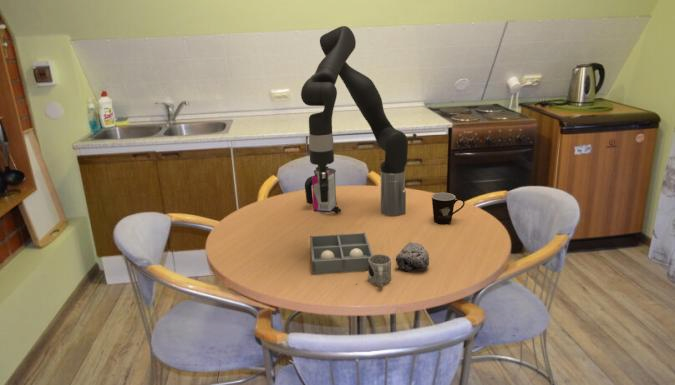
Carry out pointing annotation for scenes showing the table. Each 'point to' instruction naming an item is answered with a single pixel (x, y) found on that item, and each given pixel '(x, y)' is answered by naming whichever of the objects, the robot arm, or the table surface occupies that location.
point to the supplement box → (317, 202)
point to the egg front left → (356, 253)
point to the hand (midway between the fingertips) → (323, 197)
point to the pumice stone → (413, 257)
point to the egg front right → (327, 255)
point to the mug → (379, 269)
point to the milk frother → (309, 190)
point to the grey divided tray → (340, 253)
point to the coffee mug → (444, 207)
